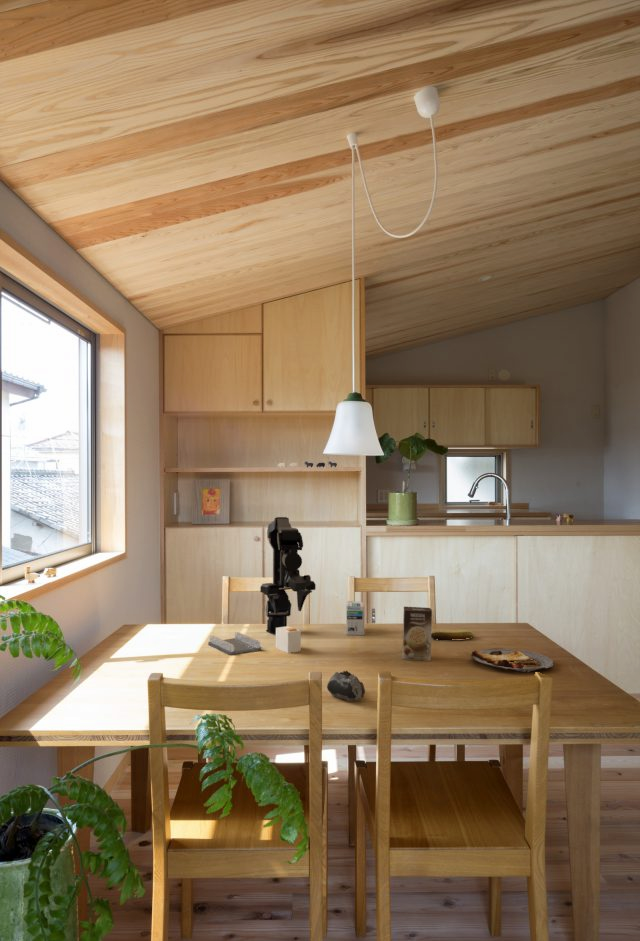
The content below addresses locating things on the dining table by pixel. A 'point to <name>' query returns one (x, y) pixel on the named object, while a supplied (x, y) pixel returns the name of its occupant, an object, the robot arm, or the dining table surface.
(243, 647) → the rail plate
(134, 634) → the dining table surface
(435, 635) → the green pickle
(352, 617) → the light bulb box
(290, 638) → the module block
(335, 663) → the dining table surface
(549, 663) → the food plate
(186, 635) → the dining table surface
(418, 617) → the coffee box
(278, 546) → the robot arm
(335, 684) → the dark grey rounded lump
